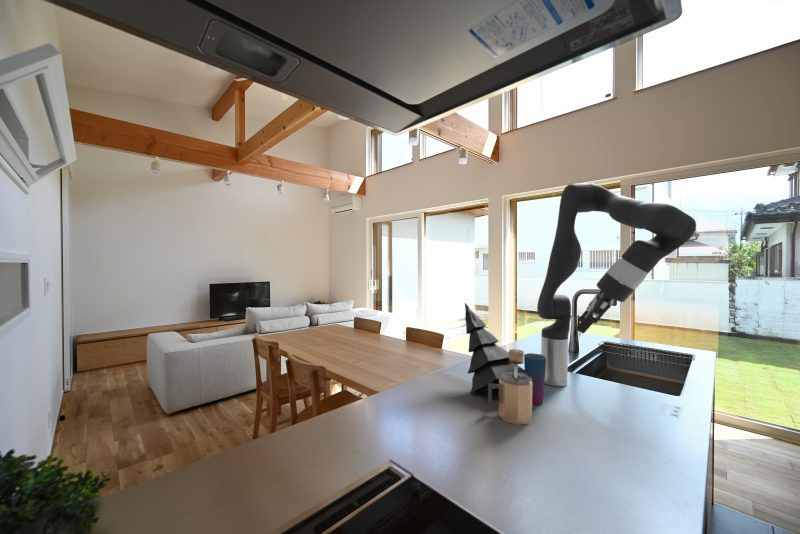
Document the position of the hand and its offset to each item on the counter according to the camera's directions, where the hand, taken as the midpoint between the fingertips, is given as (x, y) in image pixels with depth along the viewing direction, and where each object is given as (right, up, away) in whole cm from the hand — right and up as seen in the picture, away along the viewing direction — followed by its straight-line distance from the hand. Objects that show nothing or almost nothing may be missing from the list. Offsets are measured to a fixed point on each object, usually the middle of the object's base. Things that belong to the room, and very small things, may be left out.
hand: (580, 326), depth 92 cm
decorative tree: (-19, -28, +27) cm, 43 cm away
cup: (-6, -28, +18) cm, 34 cm away
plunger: (-16, -26, +7) cm, 31 cm away
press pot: (-17, -28, +6) cm, 33 cm away
